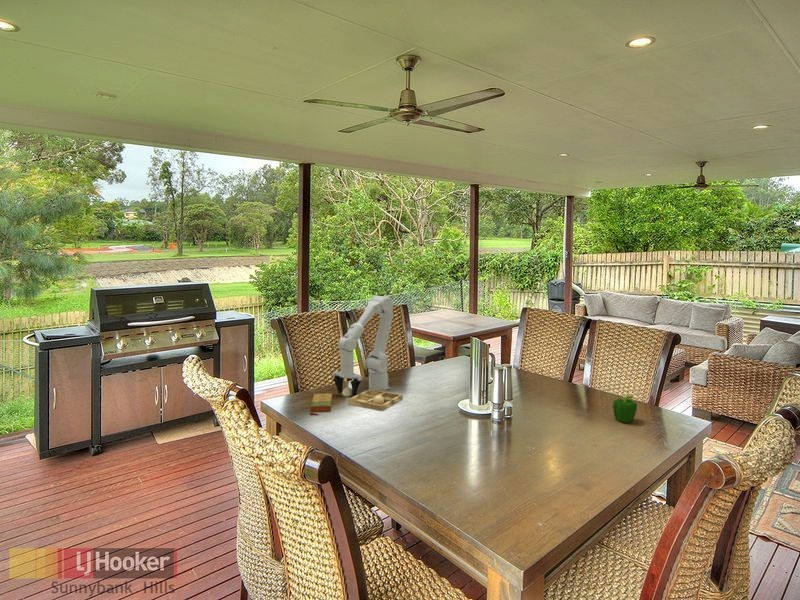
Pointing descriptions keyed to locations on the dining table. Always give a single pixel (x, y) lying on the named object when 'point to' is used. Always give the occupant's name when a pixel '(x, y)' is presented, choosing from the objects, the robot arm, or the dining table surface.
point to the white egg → (347, 391)
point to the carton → (321, 403)
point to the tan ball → (378, 400)
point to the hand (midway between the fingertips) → (347, 394)
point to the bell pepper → (624, 409)
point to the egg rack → (367, 399)
